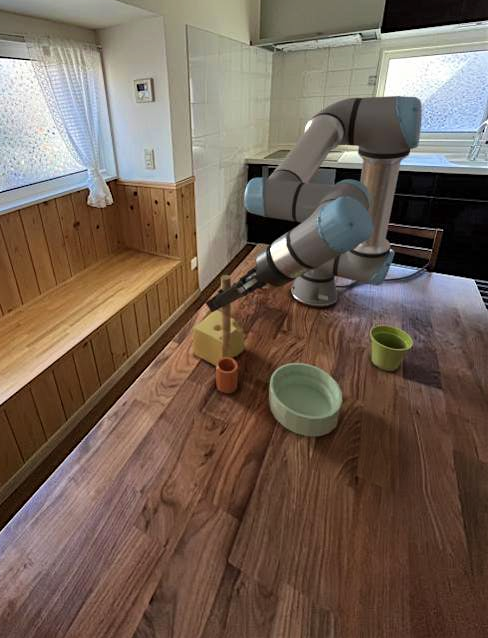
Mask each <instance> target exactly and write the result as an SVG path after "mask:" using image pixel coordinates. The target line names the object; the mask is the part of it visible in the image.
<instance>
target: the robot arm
mask: <svg viewBox="0 0 488 638" xmlns="http://www.w3.org/2000/svg"><path fill="white" fill-rule="evenodd" d="M422 109H423V106H422V102H421V100H420V99H419V97H416V96H401V95H392V96H391V95H390V96H389V95H388V96H373V97H369V96H368V97H349V98H345V99H341V100H339V101H337V102H333V103H332V104H330V105H328V106H326V107H324V108H323V109H321V110H320V111H318V112H317V113H316V114H315V115H314V116H312V117H311V119H309V121H308V122H307V124H306V125H305V127H304V133H303V134H302V136H301V137H300V138H299V139H298V140H297V142H296V143H295V144H294V146H293V147H292V148H291V149H290V151H289V152H288V154H286V156H285V157H284V158H283V159H282V160H281V161H280V163H279V164H278V165H277V167H276V168H275V169H274V170H273V172H272V173H271V174H270V175H269V176H268V177H264V176H262V177H254V178H252V179H250V180H249V181H248V183H247V185H246V187H245V189H244V190H245V191H244V198H243V199H244V200H243V201H244V207H245V209H246V211H247V212H248V213H250V214H252V215H253V214H254V215H257V216H262V217H263V218H271V219H278V220H285V221H290V222H298V223H300V224H298V225H297V226H295V227H294V228H292V229H291V230H289V231H287V232H286V233H284V234H283V235H281V236H280V237H278V238H277V239H275V240H274V241H273V242H272V243H270V244H269V245H268V246H266V247H265V248H263V249H262V250H261V251H259V252H258V253H257V255H256V257H255V266H254V267H252V268H250V270H248V271H247V272H246V274H244V275H243V276H241V277H240V278H239V279H238V281H236V282H234V283H233V284H232V285H230V288H229V289H227V290H226V291H223V290H222V289H221V288H220V289H219V290H218V291H217V294H215V295H214V296H213V297H212V298H210V299H208V300H206V301H205V304H206V306H207V307H208V309H209V310H210V313H211V312H214V311H216V310H217V311H219V310H220V309H222V308H221V307H225V306H227V305H228V304H230V303H234V302H236V301H238V300H240V299H241V298H244V297H247V296H248V294H251V293H253V292H254V291H256V290H258V289H259V290H260V289H262V288H264V287H265V286H267V284H268V285H270V286H272V287H275V288H281V287H283V286H286V285H288V284H289V283H292V282H293V283H292V285H291V288H290V289H291V290H290V296H291V297H292V299H293V300H295V302H296V303H299V304H301V305H303V306H306V307H308V308H314V309H315V308H316V309H325V308H329V307H332V306H334V305H335V304H336V303H337V301H338V296H339V295H338V290H337V289H346V288H349V287H353V286H354V285H357V284H359V283H362V284H364V285H371V286H375V287H376V286H381V285H383V284H384V282H392V281H400V280H406V279H409V278H412V277H414V276H416V275H418V274H419V273H421V272H423V271H424V270H426V268H428V267H429V266H430V264H431V263H427V264H425V265H424V266H423V267H422V268H420V269H419V270H417V271H416V272H414V273H411V274H409V275H405V276H402V277H395V278H387V275H388V273H389V270H390V267H391V265H392V263H393V260H394V256H395V250H393V249H391V243H390V242H389V240H388V239H386V238H387V234H388V229H389V224H390V218H391V213H392V207H393V202H394V197H395V192H396V187H397V182H398V177H399V172H400V167H401V164H402V163H401V162H402V160H404V159H405V158H407V157H409V156H410V153H411V150H414V149H416V148H418V147H419V144H420V138H421V128H422V115H423V113H422V111H423V110H422ZM339 146H352V147H353V146H355V147H358V150H357V154H358V156H359V157H360V158H361V160H362V165H361V166H362V167H361V174H360V179H359V180H360V181H359V180H356V179H343V180H340V181H337V182H336V183H334V184H323V183H313V182H312V183H311V180H312V179H313V178H314V176H315V174H317V171H318V170H319V169H320V167H321V165H322V164H323V162H324V161H325V159H326V158H327V157H328V155H329V154H330V152H331V151H333V150H335V149H336V148H337V147H339ZM336 277H338V278H342V279H345V280H346V279H347V280H350V281H353V282H352V283H349V284H347V285H336V281H335V278H336Z"/></svg>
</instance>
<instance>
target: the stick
mask: <svg viewBox="0 0 488 638" xmlns="http://www.w3.org/2000/svg"><path fill="white" fill-rule="evenodd" d="M230 286H231V276H230V275H228V274H223V275H221V276H220V290H221V289H222V290H223V291H226V290H227V289H229V288H230ZM220 309H221V312H222V345H223V346H225V347H228V346H230V344H231V318H232V317H231V316H232V315H231V312H232V311H231V309H232V308H231V303H230V304H228V305H227V306H225V307H221V308H220Z"/></svg>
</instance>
